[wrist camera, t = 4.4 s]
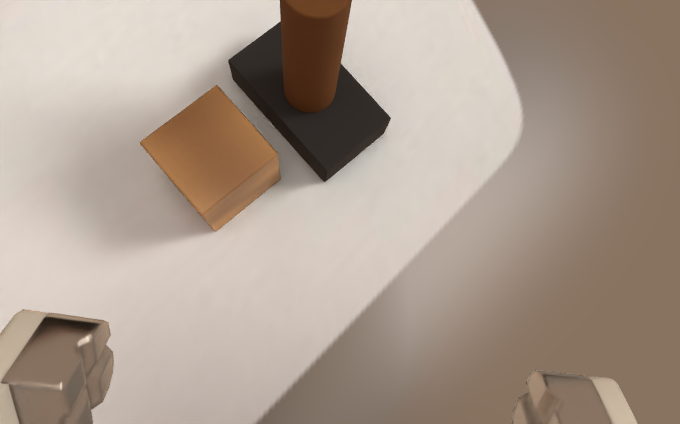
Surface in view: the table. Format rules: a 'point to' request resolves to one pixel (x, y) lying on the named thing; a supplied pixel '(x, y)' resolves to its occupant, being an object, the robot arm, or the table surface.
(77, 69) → the table surface
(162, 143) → the cork block
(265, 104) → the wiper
